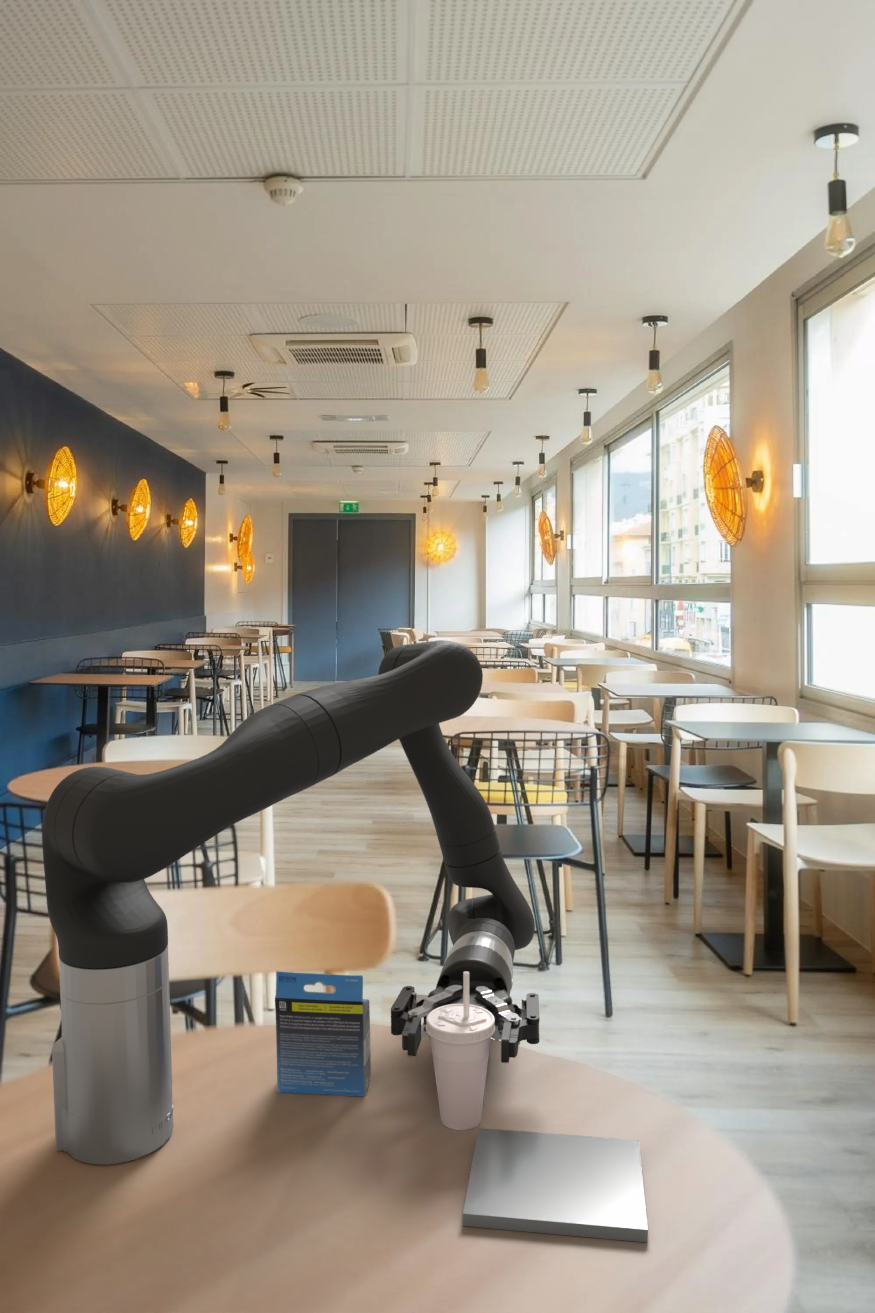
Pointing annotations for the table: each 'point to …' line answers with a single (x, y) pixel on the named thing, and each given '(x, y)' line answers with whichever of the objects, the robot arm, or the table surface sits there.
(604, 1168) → the metal board
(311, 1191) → the table surface
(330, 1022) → the label tape box
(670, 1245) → the table surface
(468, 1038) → the smoothie
